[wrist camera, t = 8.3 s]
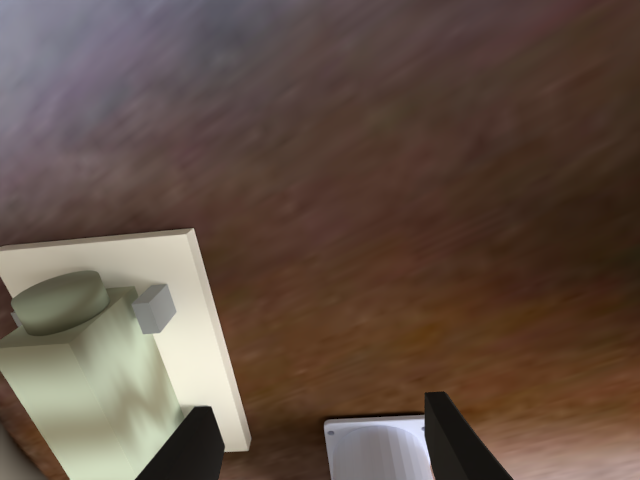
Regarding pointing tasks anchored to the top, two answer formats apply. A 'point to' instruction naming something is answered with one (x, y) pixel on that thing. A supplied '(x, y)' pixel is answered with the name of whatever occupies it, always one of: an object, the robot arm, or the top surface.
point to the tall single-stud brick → (90, 376)
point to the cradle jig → (152, 309)
